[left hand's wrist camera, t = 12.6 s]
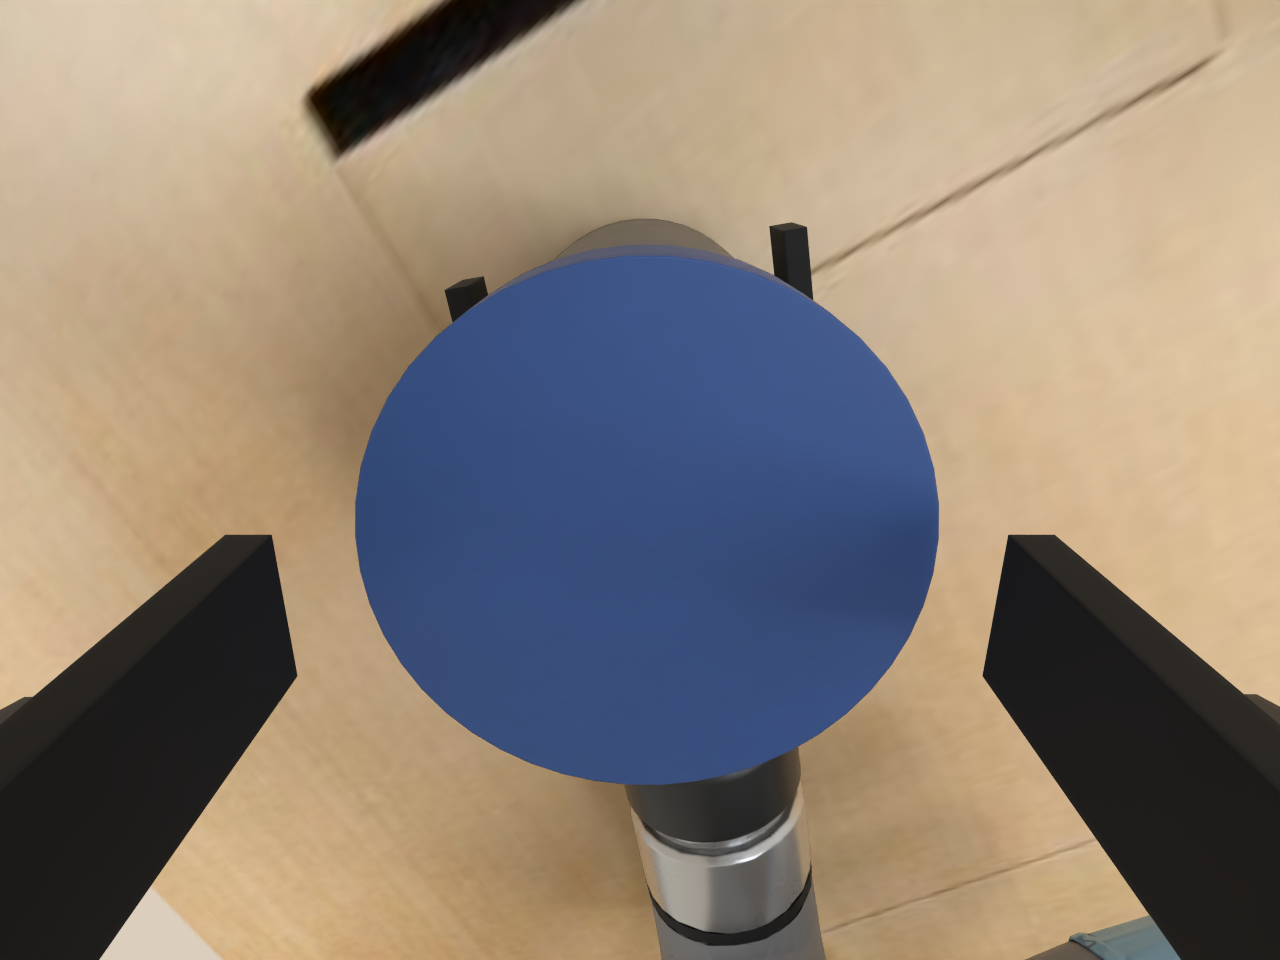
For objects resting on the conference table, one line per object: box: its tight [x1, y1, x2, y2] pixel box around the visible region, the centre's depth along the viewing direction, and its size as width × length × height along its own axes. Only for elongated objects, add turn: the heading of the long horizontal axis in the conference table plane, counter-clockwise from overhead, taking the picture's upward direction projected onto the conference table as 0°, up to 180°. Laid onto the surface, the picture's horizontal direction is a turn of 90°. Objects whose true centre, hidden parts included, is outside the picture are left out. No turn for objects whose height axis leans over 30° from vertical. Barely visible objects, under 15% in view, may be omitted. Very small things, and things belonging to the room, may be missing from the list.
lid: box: [355, 245, 939, 785], centre depth 16 cm, size 11×11×2 cm
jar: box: [555, 219, 733, 260], centre depth 24 cm, size 10×10×20 cm
